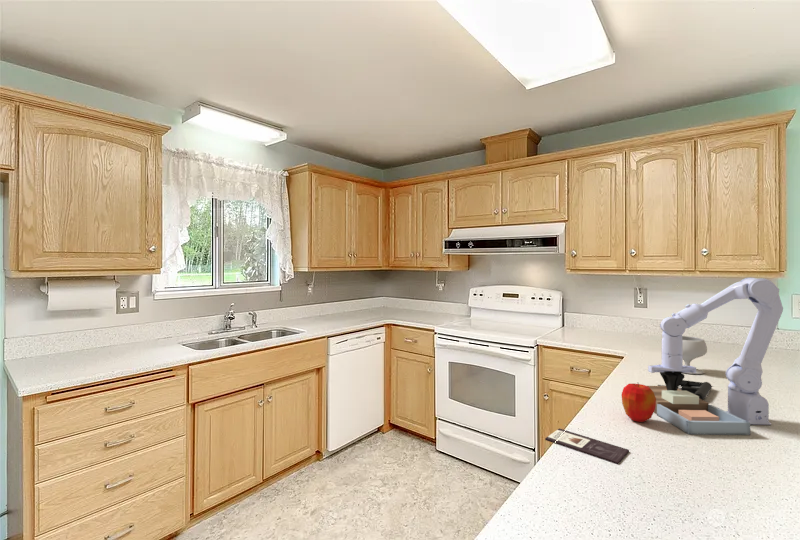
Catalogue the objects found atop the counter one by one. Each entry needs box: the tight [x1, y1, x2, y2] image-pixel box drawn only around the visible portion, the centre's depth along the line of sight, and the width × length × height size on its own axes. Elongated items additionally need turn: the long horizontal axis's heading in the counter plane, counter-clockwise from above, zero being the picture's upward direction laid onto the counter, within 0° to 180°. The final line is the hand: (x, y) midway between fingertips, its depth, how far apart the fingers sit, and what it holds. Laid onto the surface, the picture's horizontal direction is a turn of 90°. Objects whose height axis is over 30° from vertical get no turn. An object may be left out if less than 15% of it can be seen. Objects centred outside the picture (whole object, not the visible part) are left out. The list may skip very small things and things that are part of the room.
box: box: [656, 404, 751, 436], centre depth 115 cm, size 14×17×4 cm
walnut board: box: [647, 385, 710, 415], centre depth 131 cm, size 17×16×4 cm
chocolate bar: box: [544, 428, 630, 465], centre depth 102 cm, size 9×1×18 cm
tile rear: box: [662, 390, 699, 404], centre depth 124 cm, size 6×8×2 cm
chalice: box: [682, 335, 708, 375], centre depth 174 cm, size 14×14×15 cm
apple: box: [621, 383, 656, 423], centre depth 118 cm, size 9×9×12 cm
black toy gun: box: [656, 379, 715, 400], centre depth 146 cm, size 3×20×16 cm
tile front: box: [679, 410, 719, 421], centre depth 116 cm, size 6×8×2 cm
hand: (671, 393), depth 128 cm, fingers closed, pressing on tile rear
